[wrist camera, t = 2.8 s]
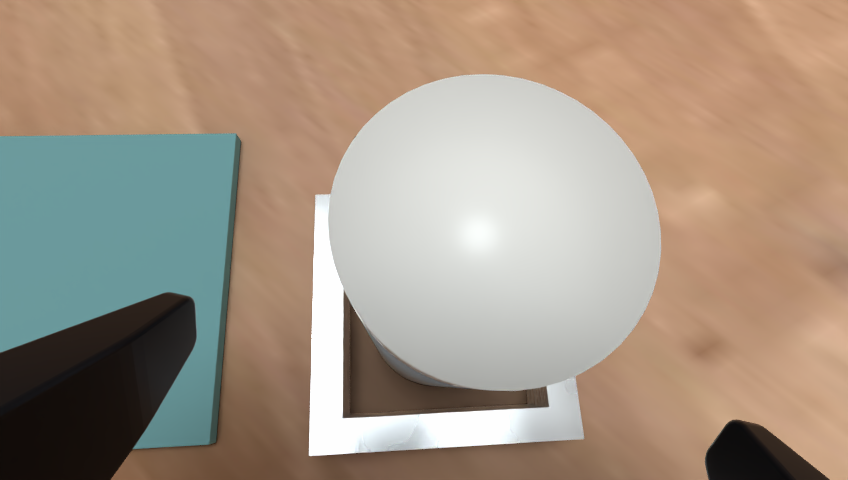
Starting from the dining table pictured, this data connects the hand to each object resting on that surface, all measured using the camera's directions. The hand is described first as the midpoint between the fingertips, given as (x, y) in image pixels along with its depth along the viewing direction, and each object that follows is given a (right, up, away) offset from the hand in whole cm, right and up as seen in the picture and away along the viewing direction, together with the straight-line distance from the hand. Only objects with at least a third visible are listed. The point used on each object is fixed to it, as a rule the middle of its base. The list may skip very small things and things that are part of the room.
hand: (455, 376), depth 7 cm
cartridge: (0, -1, +10) cm, 10 cm away
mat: (-13, +1, +10) cm, 16 cm away
